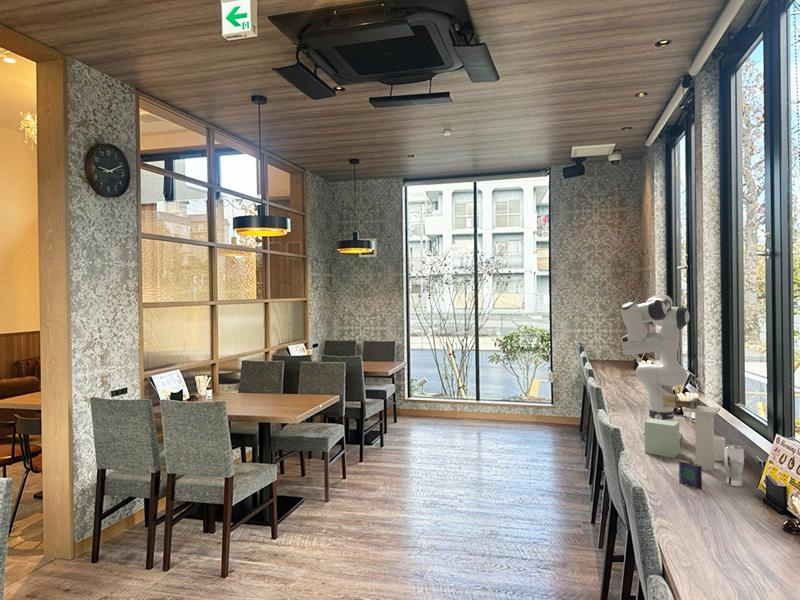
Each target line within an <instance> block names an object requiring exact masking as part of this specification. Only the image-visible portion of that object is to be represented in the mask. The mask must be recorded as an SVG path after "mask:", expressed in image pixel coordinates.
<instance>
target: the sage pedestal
mask: <svg viewBox="0 0 800 600" xmlns="http://www.w3.org/2000/svg"><path fill="white" fill-rule="evenodd" d="M647 419H648V418H647ZM644 431H645V434H644V454H649V455H654V454H656V456H660V455H661V457H666V456H667V457H666V458H673V459H675V458H676V457H677V456H678V455H680V452H681V451H680V439H679V431H680V421H676V420H675V421H667V420H660V419H652V418H650V419H648V420H647V421H646V420H645V421H644Z"/></svg>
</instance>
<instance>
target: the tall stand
mask: <svg viewBox="0 0 800 600" xmlns="http://www.w3.org/2000/svg"><path fill="white" fill-rule="evenodd" d="M698 398H699V397H694V398H692V399H691V400H690V401H691V407H683V412H685V413H687V412H688V413H694V414H695V415H694V418H695V419H694V420H695V421H694V422H695V423H694V425H695V427H694V429H695V464H696V463H697V464H698V465H701V470H702V471H707V470H709V472H712V471H713V470H714V469H715V461H714V436H715V424H714V423H715V419H714V416H715V415H717V414H718V413H719V412H720V411H721V407H716V406H715V407H714V406H706V405H704V406H703V405H697V407H696V408H694V402H695V401H697V402H698V401H699V400H698Z"/></svg>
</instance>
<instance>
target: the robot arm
mask: <svg viewBox="0 0 800 600" xmlns="http://www.w3.org/2000/svg"><path fill="white" fill-rule="evenodd" d="M673 303H674V302H673V300H672V298H671V297H670V296H669V295H667V294H655V295H652V296H651V297H649V298H647V300H646V301H645V302H643V303H639V304H637V303H636V302H635V301H629V302H626V303H624V304H622V305H621V307H620V313H621V314H620V315H621V318H622V321H623V323H624V325H625V327H626V332H627V333H626V334H625V335H624V336H622V337H621V338H620V342H621V347H622V351H623V353H624V355H625V356H632V357H633V358H634V359H635V360H636V361H637V363H642V361H643V359H642V358H641V357H639V356H638V355H639V354H648V353H654V359H655V361H662V364H659V363H642V364H639V365H637V367H636V369H635V377H636V379H637V380H638V381H639V382H640V383H641V384H642V385H643V386H644V388H645V389H646V392H647V394H648V398H649V410H648V416H649V417H647V418H646V420H645V421H647V420H648V419H650V418H652V419H660V420H667V421H675V422H676V420H675V413H674V412H675V411H674V410H673V408H674V407H663V398H662V396H663V395H665V394H670V393H669V392H667V391H666V390H664V389H663V388H662V387H663V386H670V387H679V386H680V387H681V386H683V385H685V384H686V382H688V373H687V371H686V369H685V368H684V367H682V366H681V364H680V363H679V361H678V351H679V344H680V331H681V330H683V328H684V327H686V325H688V324H689V321H690V318H691V317H690V312H689V310H688V308H686V307H683V306H673ZM645 323H647V324H648V325H650V326H654V327H655V326H659V327H661V328H660V330H659V331H658V332H657V331H654V332H649V330H648V328H647V325H646V324H645ZM642 435H645V430H644V431H642ZM681 439H682V432H681V431H680V430H679V440H681Z"/></svg>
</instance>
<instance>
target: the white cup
mask: <svg viewBox="0 0 800 600" xmlns="http://www.w3.org/2000/svg"><path fill="white" fill-rule="evenodd" d="M724 445H726V438H725V437H723V436H719V435H714V462H724V458H723V453H724Z"/></svg>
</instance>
